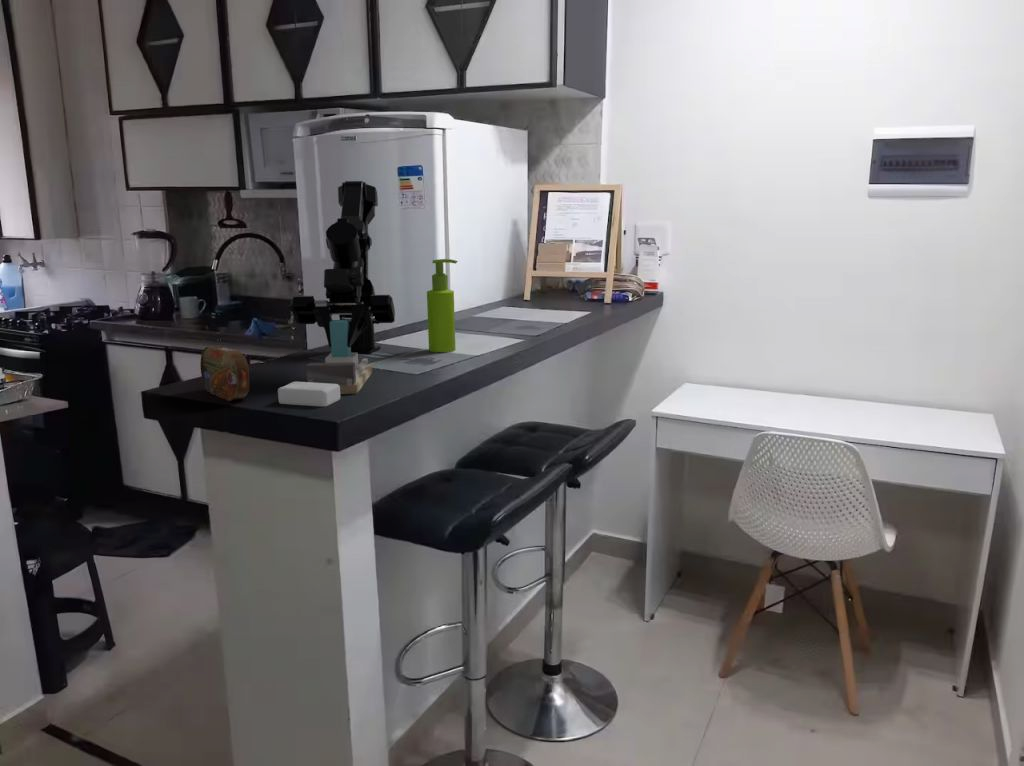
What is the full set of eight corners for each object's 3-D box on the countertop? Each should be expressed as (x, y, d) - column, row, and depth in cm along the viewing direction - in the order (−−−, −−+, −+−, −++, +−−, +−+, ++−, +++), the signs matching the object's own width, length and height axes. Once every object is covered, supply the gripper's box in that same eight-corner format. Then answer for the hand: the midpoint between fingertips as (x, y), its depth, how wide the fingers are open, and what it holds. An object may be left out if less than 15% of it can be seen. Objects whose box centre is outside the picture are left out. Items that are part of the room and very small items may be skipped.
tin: (201, 390, 135) (196, 343, 133) (218, 387, 137) (213, 341, 136) (237, 405, 125) (232, 355, 123) (255, 402, 127) (250, 352, 125)
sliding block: (331, 368, 144) (328, 319, 142) (358, 368, 144) (355, 318, 142) (326, 374, 139) (322, 323, 137) (353, 373, 139) (350, 323, 137)
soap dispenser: (459, 352, 166) (456, 260, 161) (427, 352, 166) (424, 260, 161) (460, 347, 172) (458, 258, 167) (430, 347, 172) (427, 258, 167)
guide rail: (325, 372, 148) (324, 347, 146) (372, 372, 148) (370, 346, 147) (304, 394, 131) (302, 366, 130) (357, 393, 131) (355, 365, 130)
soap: (342, 400, 128) (341, 383, 128) (325, 408, 123) (324, 390, 122) (295, 397, 131) (293, 380, 130) (277, 405, 125) (275, 387, 125)
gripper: (288, 252, 140) (276, 321, 132) (389, 251, 140) (384, 319, 132) (302, 290, 150) (292, 356, 141) (397, 289, 150) (392, 354, 142)
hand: (339, 346), depth 139 cm, fingers closed on sliding block, 3 cm apart
